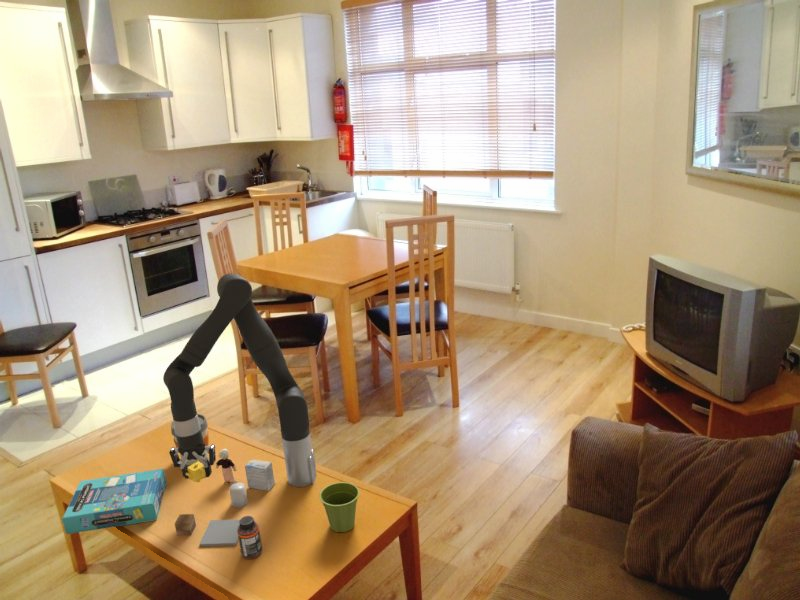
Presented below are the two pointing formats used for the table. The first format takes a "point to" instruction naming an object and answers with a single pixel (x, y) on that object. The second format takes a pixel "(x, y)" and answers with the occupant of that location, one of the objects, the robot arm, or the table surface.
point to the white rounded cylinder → (238, 495)
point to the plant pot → (340, 505)
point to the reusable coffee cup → (204, 433)
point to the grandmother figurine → (226, 467)
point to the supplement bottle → (249, 538)
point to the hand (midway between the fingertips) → (197, 476)
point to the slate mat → (221, 533)
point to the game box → (115, 501)
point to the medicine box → (259, 475)
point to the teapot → (196, 472)
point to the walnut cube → (185, 524)
